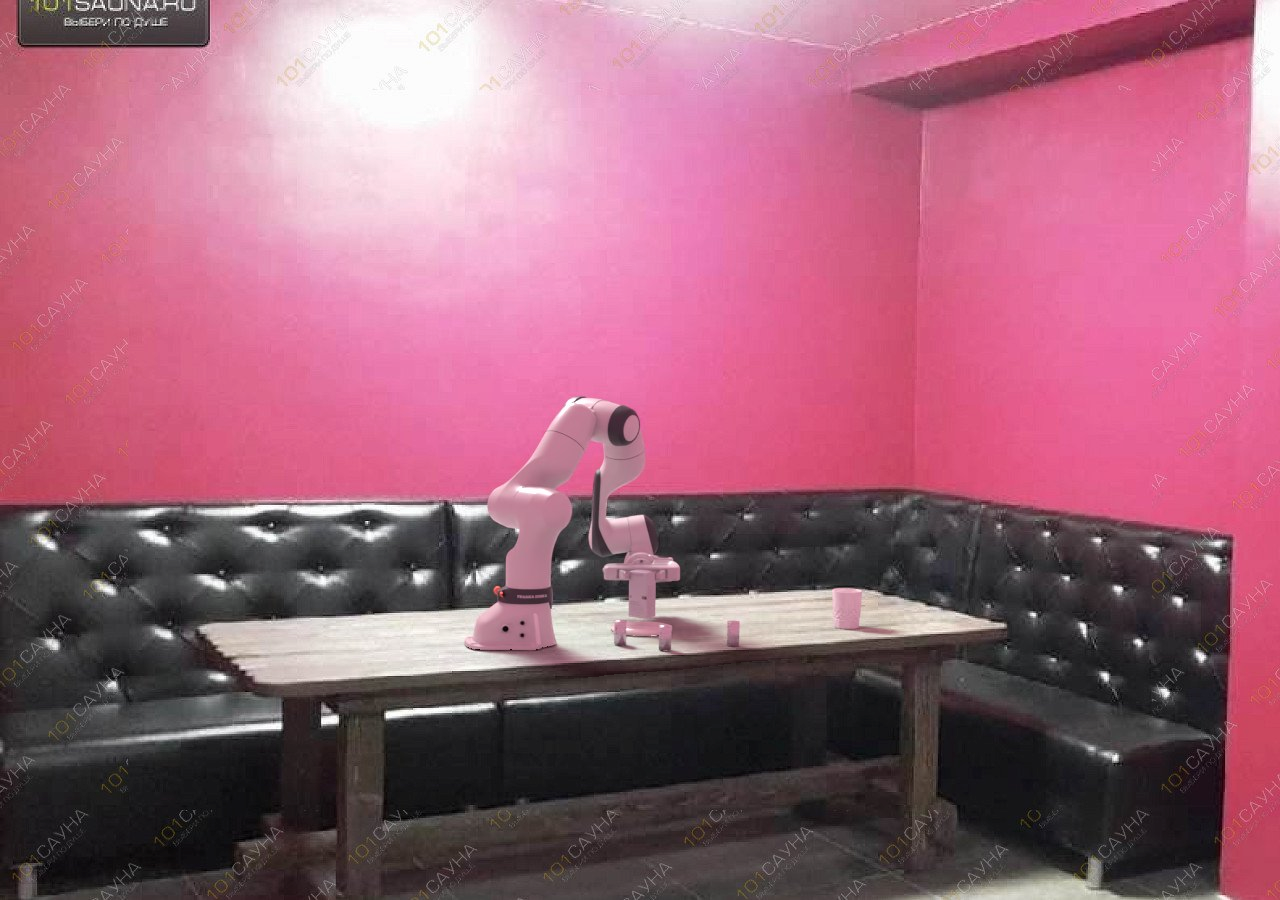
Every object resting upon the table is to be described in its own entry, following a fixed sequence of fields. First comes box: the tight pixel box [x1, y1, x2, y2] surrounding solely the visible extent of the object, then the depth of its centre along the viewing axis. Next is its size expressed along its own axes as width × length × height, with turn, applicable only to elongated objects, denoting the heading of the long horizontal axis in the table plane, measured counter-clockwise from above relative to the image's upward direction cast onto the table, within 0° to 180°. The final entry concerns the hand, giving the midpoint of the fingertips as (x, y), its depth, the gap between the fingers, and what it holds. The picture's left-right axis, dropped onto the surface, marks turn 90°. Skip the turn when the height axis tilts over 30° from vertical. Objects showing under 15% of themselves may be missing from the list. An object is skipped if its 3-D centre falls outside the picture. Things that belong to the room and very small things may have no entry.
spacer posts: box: [613, 619, 741, 651], centre depth 338 cm, size 30×11×6 cm, turn 104°
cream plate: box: [610, 620, 673, 636], centre depth 357 cm, size 16×16×1 cm
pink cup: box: [831, 587, 863, 630], centre depth 368 cm, size 8×8×10 cm
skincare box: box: [628, 569, 657, 620], centre depth 357 cm, size 6×4×12 cm
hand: (642, 576), depth 356 cm, fingers closed on skincare box, 7 cm apart
